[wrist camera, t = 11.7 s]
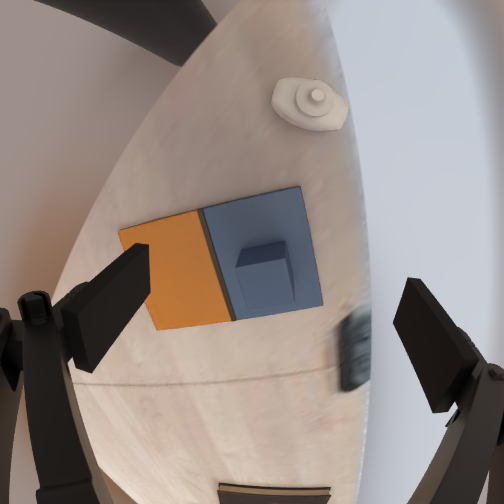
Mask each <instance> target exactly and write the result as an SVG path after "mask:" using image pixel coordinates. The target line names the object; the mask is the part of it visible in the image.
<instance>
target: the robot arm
mask: <svg viewBox="0 0 504 504" xmlns="http://www.w3.org/2000/svg"><path fill="white" fill-rule="evenodd" d="M150 293H151V285H150V261H149V244H142V243H135V244H133V245H132V246H131V247H130V248H128V249H127V250H126V251H125V252H124V253H123V254H121V255H120V256H119V257H118V258H117V259H115V260H114V261H113V262H112V263H111V264H110V265H108V266H107V267H106V268H105V269H104V270H103V271H101V272H100V273H99V274H98V275H97V276H96V277H95V278H93V279H92V280H91V281H90V282H83V283H81V284H79V285H77V286H75V287H74V288H73V289H72V290H71V291H70V293H67V294H66V295H65V296H64V297H63V298H62V299H61V300H60V301H58V302H57V303H56V304H55V305H54V306H53V307H52V305H51V300H50V296H49V294H48V293H46V292H44V291H32V292H28V293H26V294H24V295H22V296H21V297H20V298H19V300H18V302H17V303H18V307H19V310H20V314H21V317H22V320H11V317H10V314H9V312H8V310H7V309H5V308H0V504H9V484H10V468H11V458H12V448H13V441H14V433H15V427H16V420H17V414H18V409H19V403H20V398H21V393H22V388H23V384H24V390H25V401H26V411H27V419H28V426H29V433H30V439H31V445H32V451H33V456H34V461H35V466H36V470H37V474H38V479H39V483H40V489H38V490H36V500H37V504H114V502H113V500H112V498H111V495H110V493H109V491H108V489H107V486H106V484H105V481H104V479H103V477H102V474H101V472H100V469H99V466H98V464H97V461H96V458H95V456H94V453H93V450H92V447H91V444H90V442H89V439H88V436H87V432H86V429H85V426H84V423H83V420H82V416H81V413H80V409H79V406H78V402H77V398H76V395H75V391H74V387H73V383H72V378H71V374H70V370H69V366H68V362H69V360H70V359H71V358H72V357H73V360H74V364H75V367H76V368H77V369H80V370H83V371H86V372H89V373H92V372H93V371H94V370H95V368H96V367H97V365H98V364H99V362H100V361H101V360H102V358H103V357H104V355H105V354H106V353H107V351H108V350H109V348H110V347H111V346H112V344H113V343H114V342H115V340H116V339H117V337H118V336H119V335H120V333H121V332H122V331H123V329H124V328H125V326H126V325H127V324H128V322H129V321H130V320H131V318H132V317H133V316H134V314H135V313H136V312H137V310H138V309H139V308H140V306H141V305H142V304H143V302H144V301H145V300H146V298H147V297H148V296H149V294H150ZM393 325H394V326H395V329H396V331H397V333H398V335H399V337H400V339H401V341H402V343H403V345H404V348H405V350H406V352H407V354H408V356H409V359H410V361H411V363H412V365H413V367H414V370H415V372H416V374H417V377H418V379H419V381H420V383H421V386H422V388H423V391H424V393H425V395H426V398H427V400H428V403H429V405H430V408H431V410H432V413H442V412H448V411H449V409H450V408H451V406H452V405H453V403H454V402H456V405H457V406H458V409H457V410H456V412H455V413H454V414H453V416H452V417H451V419H450V420H449V421H448V423H447V424H446V425H445V427H448V428H447V431H446V433H445V435H444V437H443V439H442V441H441V444H440V446H439V448H438V450H437V452H436V454H435V456H434V458H433V460H432V461H431V463H430V465H429V467H428V469H427V471H426V473H425V474H424V476H423V478H422V480H421V482H420V483H419V485H418V487H417V488H416V490H415V492H414V493H413V495H412V497H411V498H410V500H409V501H408V503H407V504H477V502H478V500H479V497H480V494H481V492H482V489H483V486H484V483H485V480H486V477H487V474H488V471H489V483H488V493H487V502H486V504H504V369H503V368H501V367H500V366H498V365H495V364H491V363H489V364H488V363H487V362H486V360H485V359H484V358H483V356H482V355H481V353H480V352H479V350H478V349H477V348H476V347H475V344H474V343H473V342H471V339H470V337H469V336H468V335H467V333H466V332H464V331H463V330H462V329H461V328H459V327H457V326H456V325H455V323H454V322H453V321H452V319H451V318H450V317H449V315H448V314H447V313H446V311H445V310H444V309H443V307H442V306H441V305H440V303H439V302H438V301H437V299H436V298H435V297H434V295H433V294H432V293H431V292H430V290H429V289H428V288H427V287H426V285H425V284H424V283H423V282H422V281H421V279H417V278H409V277H408V278H407V281H406V285H405V288H404V291H403V294H402V297H401V300H400V303H399V306H398V309H397V312H396V315H395V318H394V320H393ZM489 468H490V469H489Z"/></svg>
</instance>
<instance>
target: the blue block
mask: <svg viewBox="0 0 504 504" xmlns="http://www.w3.org/2000/svg"><path fill="white" fill-rule="evenodd" d="M235 270H236V273H237V276H238V280H239V283H240V287H241V290H242V293H243V297H244V300H245V304H246V307H247V310H254V309H260V308H266V307H272V306H277V305H283V304H289V303H294V302H295V289H294V278H293V273H292V269H291V264H290V260H289V255H288V251H287V246H286V242H285V241H282V242H277V243H272V244H267V245H262V246H257V247H252V248H247V249H242V250H241V252H240V255H239V258H238V261H237V264H236V266H235Z"/></svg>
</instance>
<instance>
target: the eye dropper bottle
mask: <svg viewBox="0 0 504 504" xmlns="http://www.w3.org/2000/svg"><path fill="white" fill-rule="evenodd" d="M271 104H272V107H273V109H274V111H275V112H276V113H277V114H278V115H279V116H280V117H282V118H283V119H284V120H286V121H287V122H289V123H291V124H293V125H295V126H297V127H300V128H303V129H307V130H312V131H334V130H338V129H340V128H341V127H342V126H343V125H344V123H345V120H346V118H347V115H348V112H349V106H348V104H347V102H346V101H345V100H344V99H343V98H342V97H341V96H340V95H339V94H338V93H337V92H335V91H334V90H333V89H331V88H330V86H329V85H327V84H326V83H324V82H322V81H320V80H319V81H318V80H316V79H315V80H314V79H313V80H311V79H307V78H300V77H286V78H282V79H280V80H279V81H278V82H277V84H276V86H275V88H274V91H273V93H272V96H271Z"/></svg>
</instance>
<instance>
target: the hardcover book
mask: <svg viewBox="0 0 504 504" xmlns="http://www.w3.org/2000/svg"><path fill="white" fill-rule="evenodd" d="M330 489H331V487H327V488H273V487H255V486H243V485H233V484H224V483H219V490H217V492H218V497H219V501H220V504H327V502H328V500H329V499H330V497H331V495H329V491H330Z"/></svg>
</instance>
